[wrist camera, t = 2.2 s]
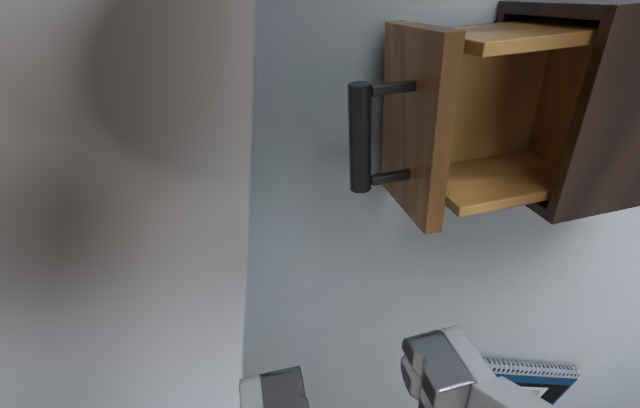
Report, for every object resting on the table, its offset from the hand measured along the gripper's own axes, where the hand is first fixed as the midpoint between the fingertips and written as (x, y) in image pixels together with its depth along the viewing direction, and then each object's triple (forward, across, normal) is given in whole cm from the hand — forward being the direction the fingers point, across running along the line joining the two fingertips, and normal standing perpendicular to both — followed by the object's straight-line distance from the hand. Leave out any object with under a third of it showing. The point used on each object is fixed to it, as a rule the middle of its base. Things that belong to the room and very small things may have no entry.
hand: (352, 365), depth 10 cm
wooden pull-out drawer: (+20, -14, 0) cm, 24 cm away
